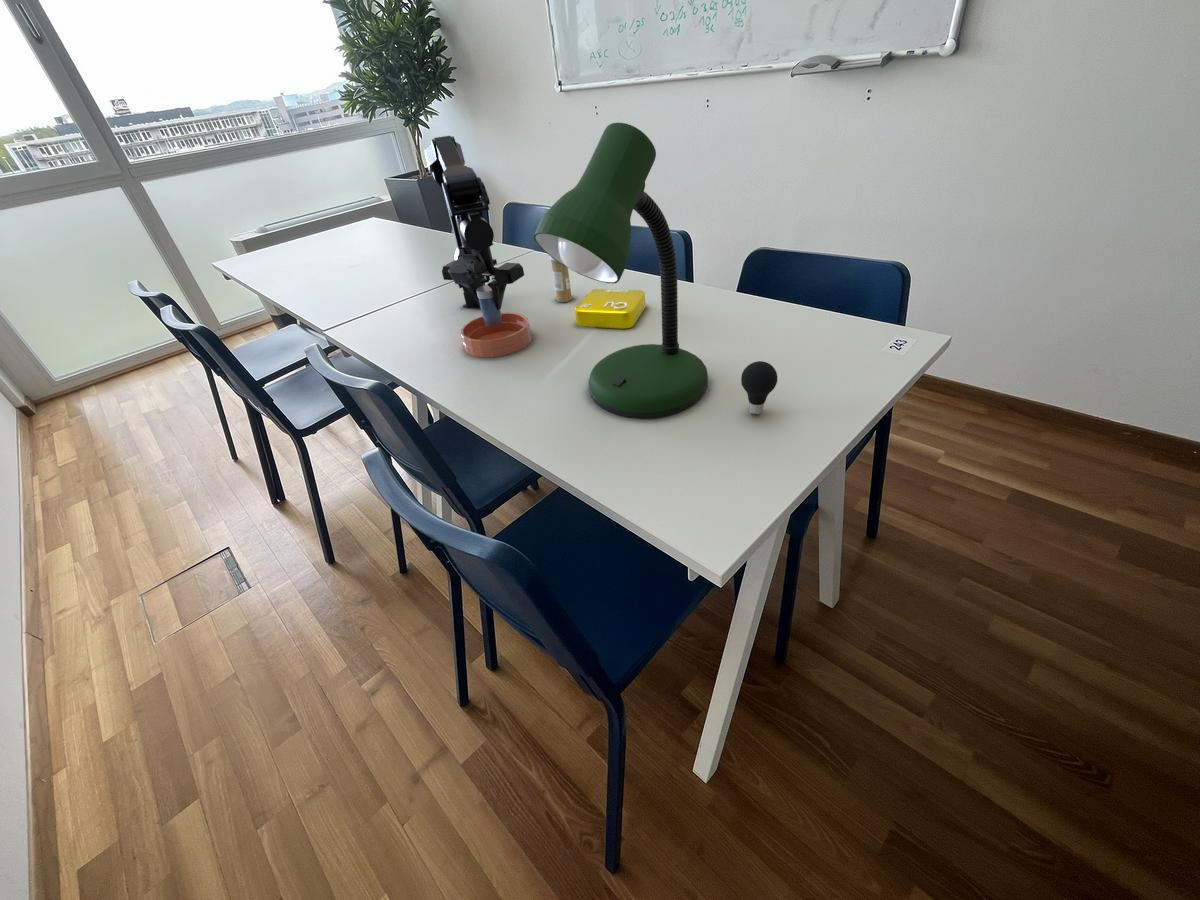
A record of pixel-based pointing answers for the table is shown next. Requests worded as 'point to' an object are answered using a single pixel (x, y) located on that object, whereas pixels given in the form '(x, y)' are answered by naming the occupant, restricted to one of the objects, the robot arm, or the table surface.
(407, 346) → the table surface
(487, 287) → the salt shaker
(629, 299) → the element tile
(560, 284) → the sprinkles bottle
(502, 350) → the bowl
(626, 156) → the desk lamp
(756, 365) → the light bulb
